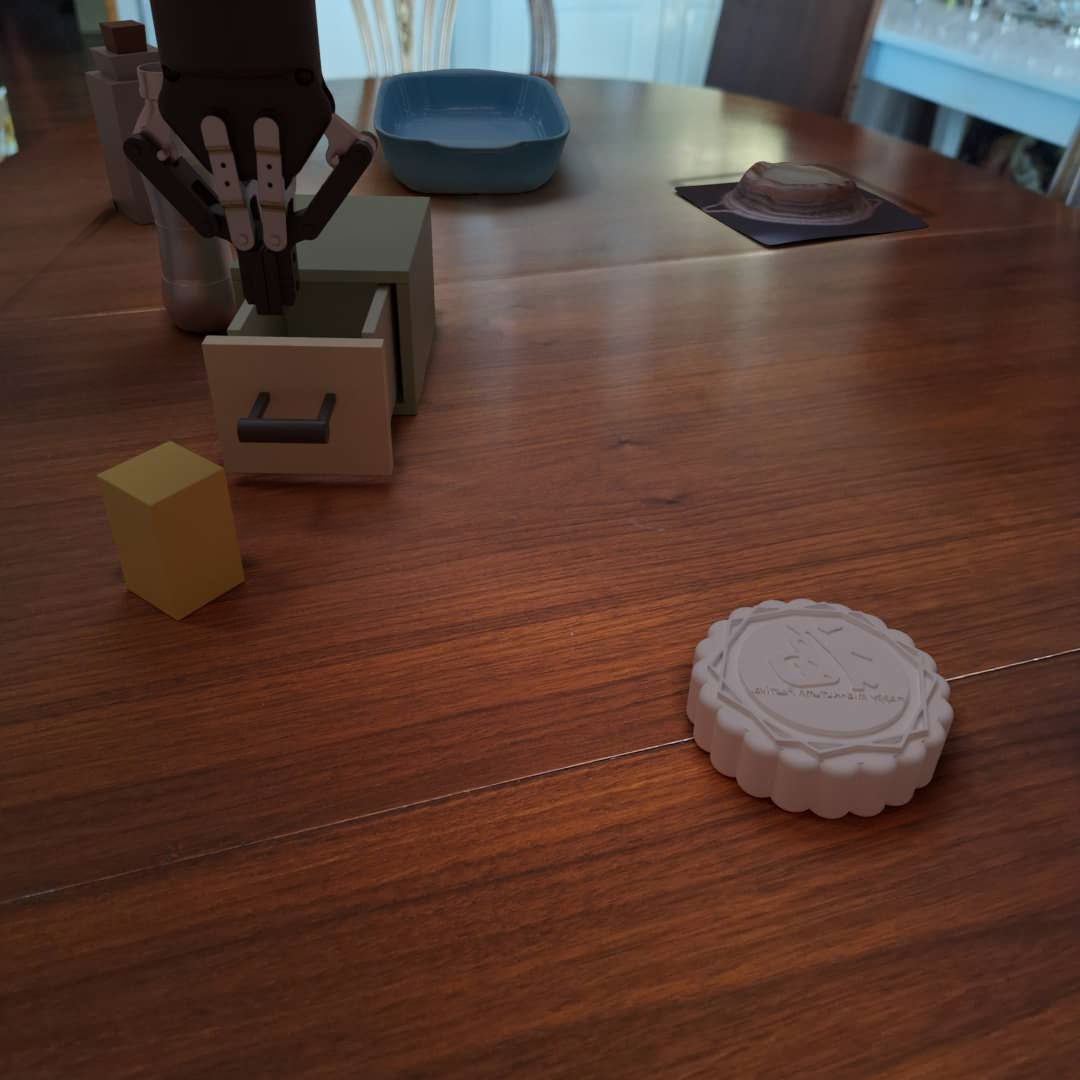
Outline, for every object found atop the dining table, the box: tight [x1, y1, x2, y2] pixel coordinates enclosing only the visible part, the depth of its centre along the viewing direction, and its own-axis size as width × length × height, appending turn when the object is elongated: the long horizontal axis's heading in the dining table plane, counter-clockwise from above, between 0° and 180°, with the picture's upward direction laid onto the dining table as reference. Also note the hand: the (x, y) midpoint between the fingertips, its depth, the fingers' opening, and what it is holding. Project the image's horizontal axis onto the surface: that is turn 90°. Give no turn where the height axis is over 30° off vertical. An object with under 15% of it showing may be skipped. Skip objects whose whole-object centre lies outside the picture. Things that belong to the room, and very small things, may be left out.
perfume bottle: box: [84, 19, 160, 226], centre depth 105 cm, size 7×7×18 cm
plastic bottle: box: [133, 62, 237, 333], centre depth 81 cm, size 6×7×20 cm
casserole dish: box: [373, 68, 571, 195], centre depth 125 cm, size 37×22×7 cm, turn 5°
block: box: [96, 440, 246, 621], centre depth 56 cm, size 5×5×8 cm
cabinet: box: [230, 193, 437, 416], centre depth 78 cm, size 16×12×11 cm
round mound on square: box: [674, 160, 929, 246], centre depth 114 cm, size 21×20×4 cm
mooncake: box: [686, 598, 955, 820], centre depth 49 cm, size 12×12×4 cm
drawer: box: [201, 281, 402, 476], centre depth 67 cm, size 20×11×9 cm, turn 0°
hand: (274, 309), depth 57 cm, fingers closed
